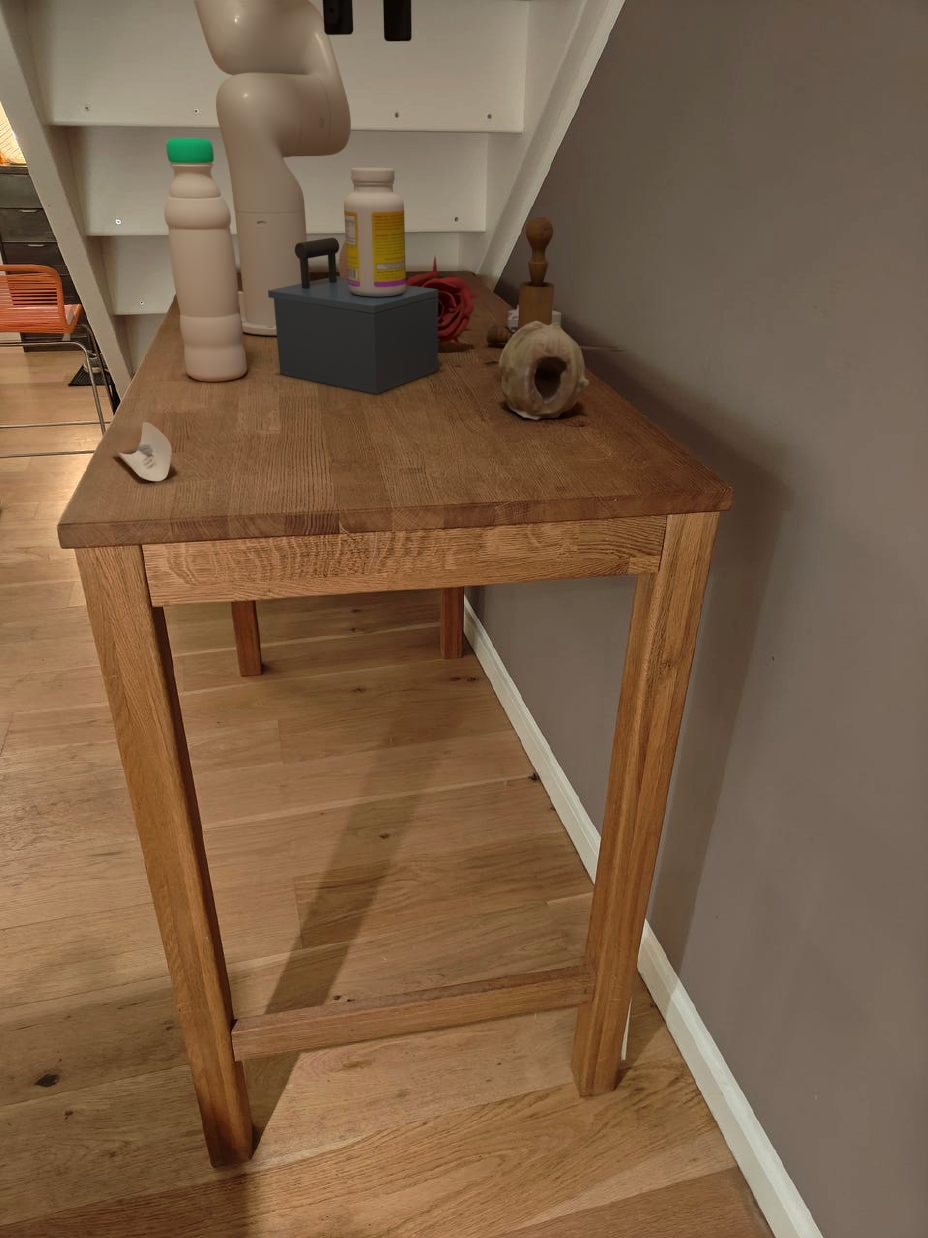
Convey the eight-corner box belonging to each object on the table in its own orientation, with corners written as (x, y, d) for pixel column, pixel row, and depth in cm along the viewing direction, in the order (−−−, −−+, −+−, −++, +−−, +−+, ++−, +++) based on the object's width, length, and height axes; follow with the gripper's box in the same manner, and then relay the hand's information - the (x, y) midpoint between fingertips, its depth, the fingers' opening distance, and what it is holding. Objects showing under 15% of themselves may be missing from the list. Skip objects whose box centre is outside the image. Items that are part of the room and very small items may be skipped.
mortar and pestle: (566, 378, 107) (578, 216, 98) (547, 391, 102) (559, 222, 93) (515, 371, 110) (523, 213, 101) (495, 384, 104) (501, 218, 95)
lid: (268, 297, 102) (263, 243, 100) (337, 282, 112) (334, 233, 109) (373, 313, 95) (371, 256, 93) (438, 296, 105) (438, 243, 102)
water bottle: (232, 384, 102) (204, 139, 89) (176, 380, 103) (140, 137, 91) (256, 369, 108) (233, 137, 95) (203, 365, 109) (173, 136, 97)
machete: (638, 340, 122) (644, 346, 117) (634, 360, 123) (639, 366, 118) (487, 320, 121) (487, 325, 117) (485, 340, 122) (485, 346, 118)
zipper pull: (490, 342, 119) (490, 309, 117) (512, 322, 135) (513, 292, 133) (548, 345, 118) (549, 311, 116) (563, 324, 133) (565, 294, 131)
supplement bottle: (414, 290, 103) (413, 167, 97) (392, 299, 98) (389, 170, 92) (362, 285, 105) (358, 165, 99) (338, 295, 100) (331, 168, 93)
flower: (477, 265, 139) (483, 253, 110) (475, 343, 143) (481, 351, 114) (397, 263, 139) (383, 251, 110) (397, 342, 142) (384, 350, 114)
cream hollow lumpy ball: (500, 430, 97) (473, 340, 94) (556, 405, 101) (533, 317, 97) (554, 427, 89) (527, 328, 86) (613, 399, 93) (589, 304, 90)
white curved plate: (144, 416, 81) (110, 412, 79) (173, 441, 75) (138, 436, 73) (138, 455, 82) (105, 451, 80) (167, 482, 76) (132, 478, 75)
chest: (280, 374, 107) (273, 298, 102) (345, 353, 116) (342, 283, 111) (376, 394, 100) (373, 313, 95) (438, 370, 109) (438, 296, 105)
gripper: (386, -160, 89) (390, 43, 97) (266, -206, 76) (283, 32, 85) (448, -169, 85) (447, 42, 94) (334, -219, 73) (344, 30, 81)
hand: (369, 37), depth 89 cm, fingers open, 9 cm apart
